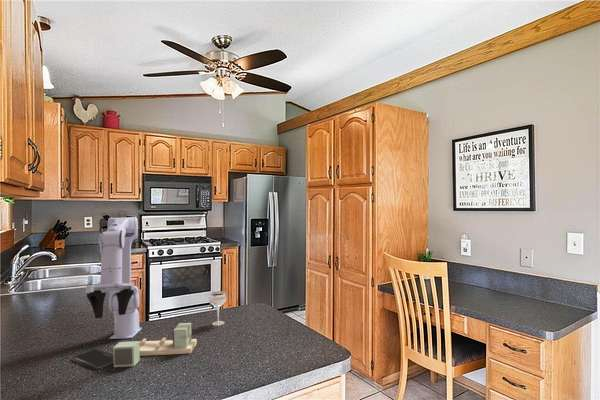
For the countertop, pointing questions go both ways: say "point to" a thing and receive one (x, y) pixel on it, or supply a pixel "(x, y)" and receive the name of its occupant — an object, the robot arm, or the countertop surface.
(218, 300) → the wineglass
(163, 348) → the block holder
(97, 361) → the phone
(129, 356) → the block
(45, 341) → the countertop surface
